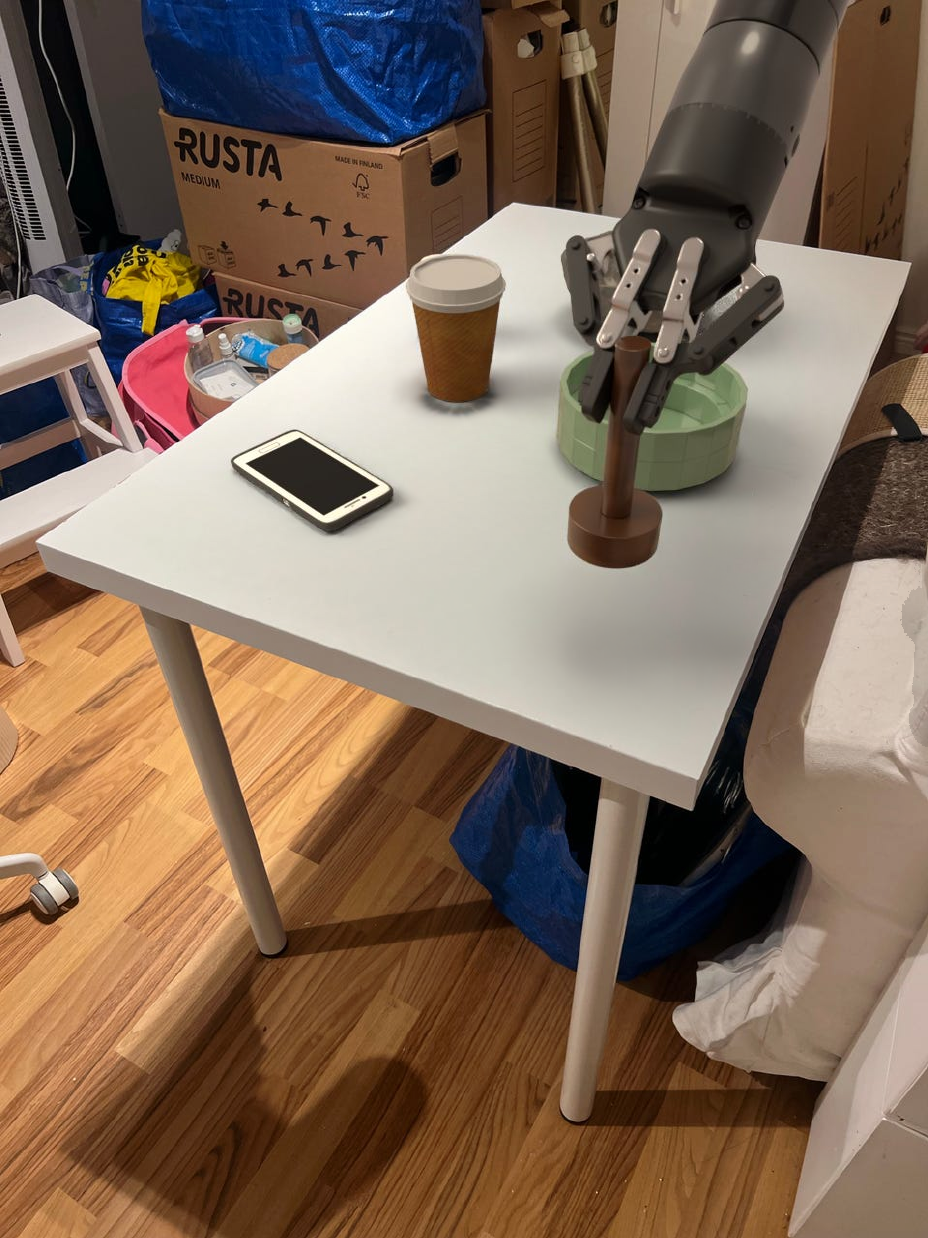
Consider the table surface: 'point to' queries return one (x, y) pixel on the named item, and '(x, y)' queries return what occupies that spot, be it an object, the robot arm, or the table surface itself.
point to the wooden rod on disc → (618, 482)
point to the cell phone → (312, 479)
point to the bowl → (610, 286)
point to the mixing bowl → (662, 429)
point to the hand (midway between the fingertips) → (611, 423)
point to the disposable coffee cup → (456, 322)
